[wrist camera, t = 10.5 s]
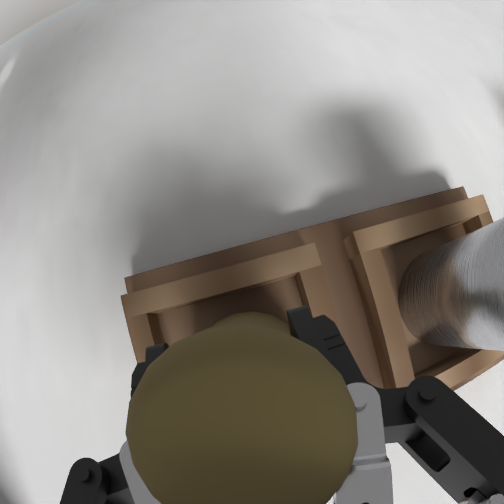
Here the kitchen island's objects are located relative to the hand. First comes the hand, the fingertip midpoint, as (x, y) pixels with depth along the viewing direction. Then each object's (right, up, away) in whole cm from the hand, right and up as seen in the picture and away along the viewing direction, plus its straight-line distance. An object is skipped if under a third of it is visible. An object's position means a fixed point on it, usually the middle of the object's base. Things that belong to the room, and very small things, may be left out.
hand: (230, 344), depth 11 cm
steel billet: (+13, 0, +6) cm, 14 cm away
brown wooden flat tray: (+6, -2, +8) cm, 10 cm away
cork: (+1, -3, +4) cm, 5 cm away
